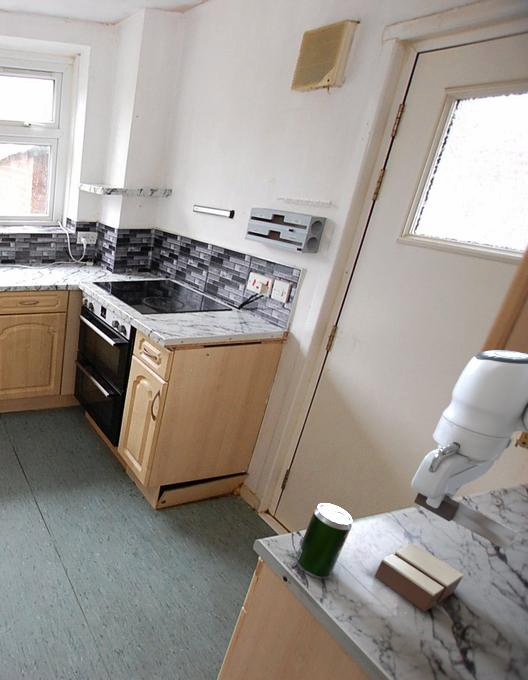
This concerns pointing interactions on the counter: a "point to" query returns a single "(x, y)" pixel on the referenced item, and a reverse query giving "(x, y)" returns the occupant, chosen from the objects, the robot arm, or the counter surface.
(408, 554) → the cake
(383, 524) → the counter surface
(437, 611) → the counter surface
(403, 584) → the cake slice
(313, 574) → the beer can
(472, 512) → the knife
